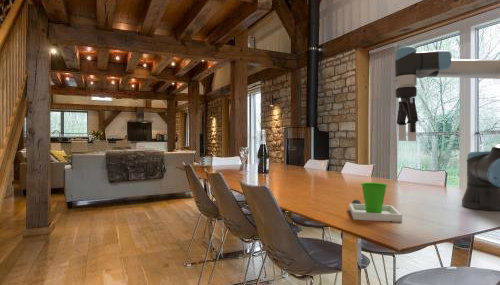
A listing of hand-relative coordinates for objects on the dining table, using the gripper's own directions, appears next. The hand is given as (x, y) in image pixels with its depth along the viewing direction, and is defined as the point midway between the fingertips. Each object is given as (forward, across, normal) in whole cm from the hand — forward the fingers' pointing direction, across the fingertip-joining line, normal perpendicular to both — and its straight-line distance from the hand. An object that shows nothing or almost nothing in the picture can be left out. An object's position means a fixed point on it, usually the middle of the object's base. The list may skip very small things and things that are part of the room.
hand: (407, 141), depth 129 cm
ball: (+27, 0, -20) cm, 34 cm away
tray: (+27, +11, -15) cm, 33 cm away
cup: (+27, +11, -15) cm, 33 cm away
